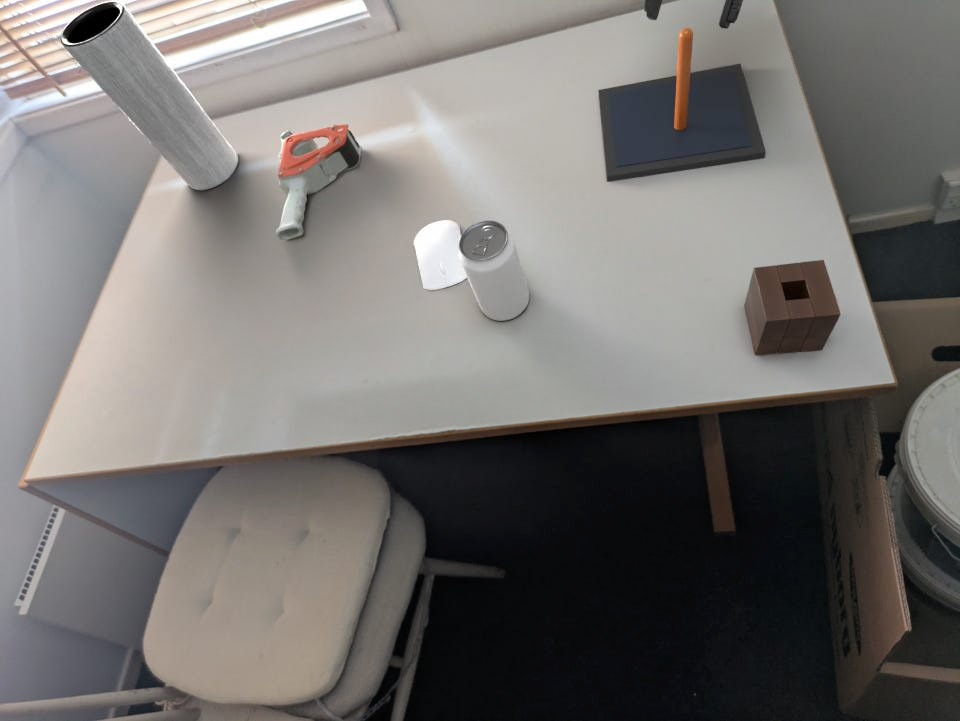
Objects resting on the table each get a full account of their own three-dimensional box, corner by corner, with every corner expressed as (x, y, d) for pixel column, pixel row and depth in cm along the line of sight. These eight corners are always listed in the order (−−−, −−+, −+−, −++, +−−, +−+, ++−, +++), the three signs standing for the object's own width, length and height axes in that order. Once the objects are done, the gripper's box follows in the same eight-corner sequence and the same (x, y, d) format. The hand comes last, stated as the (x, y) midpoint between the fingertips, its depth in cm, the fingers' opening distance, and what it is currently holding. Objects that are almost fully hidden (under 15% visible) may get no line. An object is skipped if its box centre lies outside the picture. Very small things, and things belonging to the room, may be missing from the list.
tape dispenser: (294, 255, 91) (390, 171, 92) (274, 234, 86) (377, 147, 88) (243, 199, 99) (333, 123, 101) (222, 178, 94) (317, 99, 96)
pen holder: (807, 298, 65) (823, 259, 59) (822, 350, 62) (841, 314, 56) (743, 305, 67) (753, 267, 61) (755, 355, 63) (766, 321, 58)
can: (537, 285, 75) (520, 221, 65) (519, 327, 72) (499, 267, 62) (491, 276, 77) (467, 213, 67) (472, 317, 75) (445, 258, 65)
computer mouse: (423, 294, 79) (417, 284, 77) (413, 230, 85) (407, 219, 83) (471, 280, 78) (467, 269, 76) (458, 216, 84) (453, 204, 82)
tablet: (739, 69, 85) (740, 62, 84) (764, 157, 76) (766, 151, 75) (598, 95, 89) (598, 89, 88) (607, 181, 81) (606, 175, 80)
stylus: (685, 121, 81) (692, 23, 69) (687, 129, 80) (694, 31, 68) (673, 123, 81) (678, 26, 69) (674, 131, 80) (679, 34, 69)
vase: (209, 198, 100) (80, 52, 77) (177, 181, 105) (47, 38, 82) (249, 158, 103) (136, 6, 80) (217, 143, 107) (101, -5, 85)
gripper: (662, -167, 62) (618, 8, 68) (806, -172, 56) (743, 21, 62) (680, -134, 68) (638, 23, 74) (812, -135, 62) (754, 37, 68)
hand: (686, 22), depth 68 cm, fingers open, 8 cm apart
